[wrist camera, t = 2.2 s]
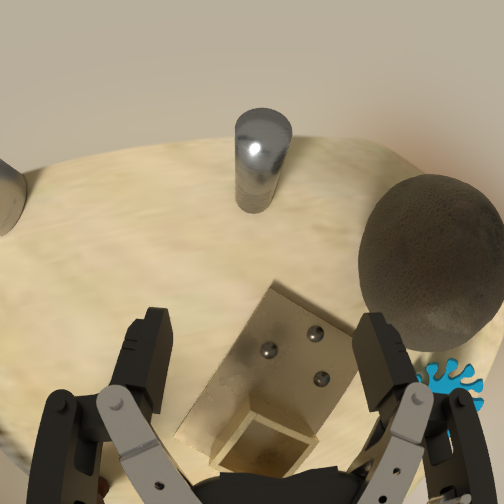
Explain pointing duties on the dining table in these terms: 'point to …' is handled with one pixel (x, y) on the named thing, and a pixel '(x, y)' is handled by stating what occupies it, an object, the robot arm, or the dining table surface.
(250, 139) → the pin
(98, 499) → the bolt
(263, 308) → the hinge leaf
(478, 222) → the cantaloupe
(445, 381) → the blue lobed toy
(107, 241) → the dining table surface
